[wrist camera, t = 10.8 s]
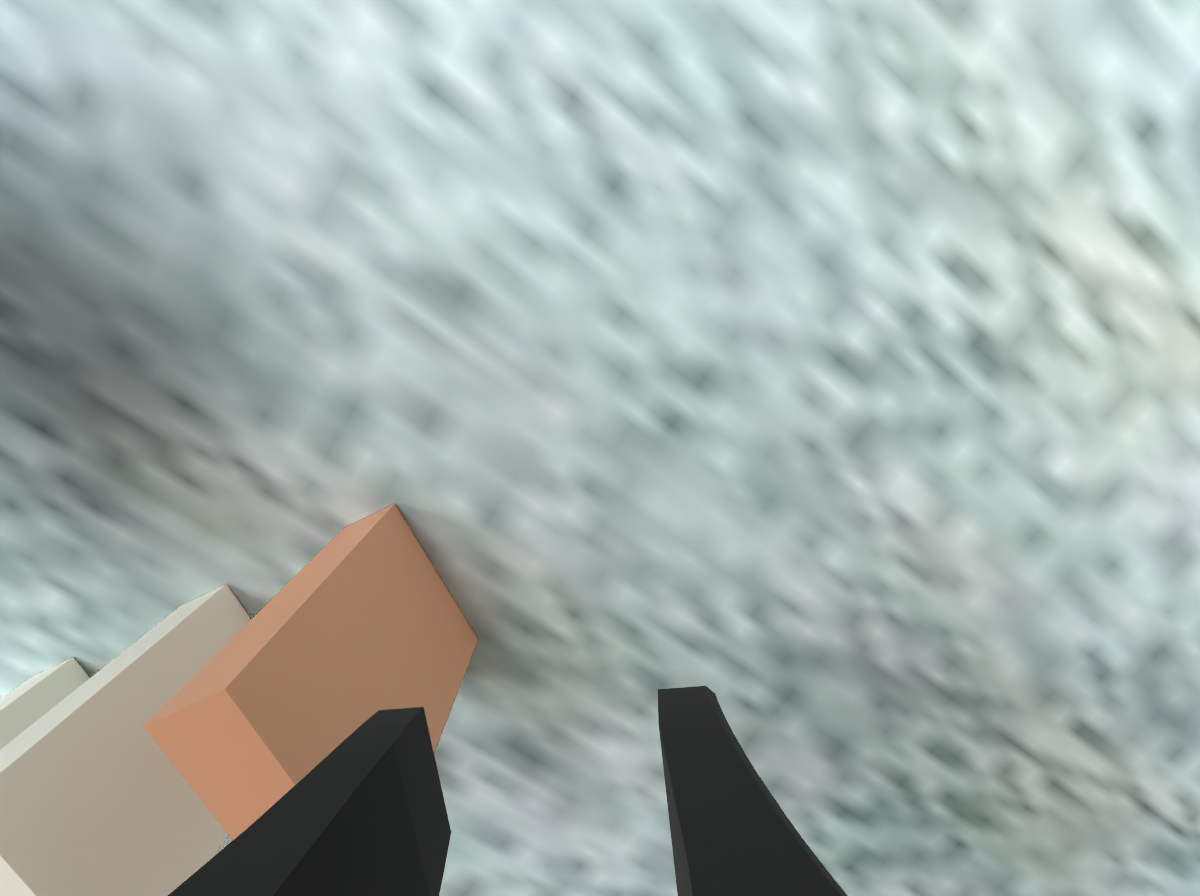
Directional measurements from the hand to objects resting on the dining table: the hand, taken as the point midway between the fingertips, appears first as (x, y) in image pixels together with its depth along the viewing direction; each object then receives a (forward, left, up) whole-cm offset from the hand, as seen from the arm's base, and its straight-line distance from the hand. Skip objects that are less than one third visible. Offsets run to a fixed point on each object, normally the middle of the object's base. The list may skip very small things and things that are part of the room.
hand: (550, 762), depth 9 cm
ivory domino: (-6, -10, -9) cm, 14 cm away
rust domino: (-3, -5, -9) cm, 11 cm away
